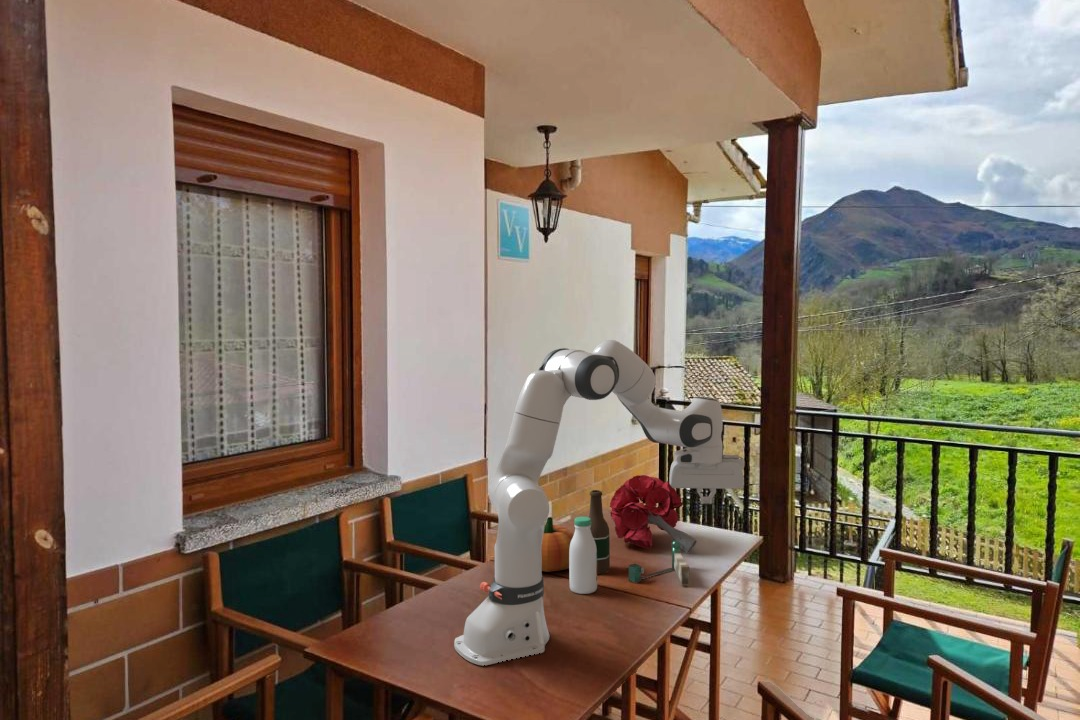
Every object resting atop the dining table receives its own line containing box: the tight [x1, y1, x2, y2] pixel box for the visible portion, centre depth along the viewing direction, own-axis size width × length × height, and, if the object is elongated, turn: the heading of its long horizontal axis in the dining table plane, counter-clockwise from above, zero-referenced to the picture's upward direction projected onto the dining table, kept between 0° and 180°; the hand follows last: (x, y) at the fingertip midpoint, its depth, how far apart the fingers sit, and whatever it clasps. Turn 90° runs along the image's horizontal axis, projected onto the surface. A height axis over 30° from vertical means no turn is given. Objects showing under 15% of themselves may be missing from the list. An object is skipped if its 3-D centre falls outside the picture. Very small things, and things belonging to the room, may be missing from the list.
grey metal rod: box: [641, 567, 675, 580], centre depth 198 cm, size 14×1×1 cm, turn 124°
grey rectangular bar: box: [674, 552, 690, 586], centre depth 194 cm, size 12×2×5 cm, turn 179°
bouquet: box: [609, 474, 697, 554], centre depth 222 cm, size 22×24×30 cm
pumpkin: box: [541, 516, 574, 573], centre depth 206 cm, size 19×19×15 cm
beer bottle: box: [588, 489, 611, 575], centre depth 201 cm, size 8×8×24 cm
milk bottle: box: [568, 516, 598, 595], centre depth 187 cm, size 8×8×20 cm
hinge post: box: [671, 540, 681, 569], centre depth 202 cm, size 3×3×9 cm
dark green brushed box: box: [628, 563, 645, 584], centre depth 193 cm, size 3×3×4 cm
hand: (706, 503), depth 189 cm, fingers closed
